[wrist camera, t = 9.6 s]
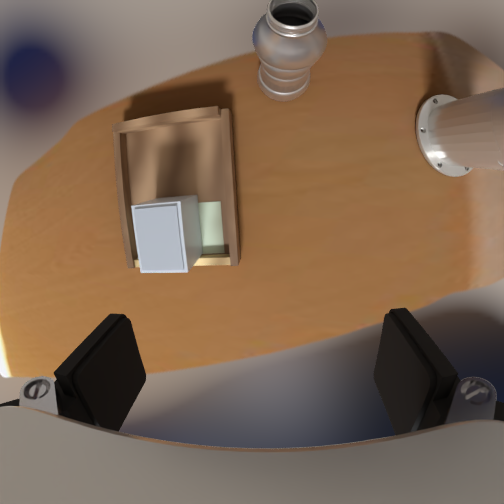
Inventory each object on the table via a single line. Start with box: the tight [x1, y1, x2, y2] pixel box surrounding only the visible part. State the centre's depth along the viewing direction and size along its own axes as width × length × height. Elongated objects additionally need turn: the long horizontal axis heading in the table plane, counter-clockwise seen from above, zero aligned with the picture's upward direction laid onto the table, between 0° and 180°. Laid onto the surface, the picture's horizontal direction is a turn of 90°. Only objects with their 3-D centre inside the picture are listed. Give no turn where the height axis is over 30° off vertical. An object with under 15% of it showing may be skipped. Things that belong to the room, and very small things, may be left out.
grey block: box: [131, 195, 203, 273], centre depth 35 cm, size 6×8×8 cm
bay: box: [112, 106, 241, 268], centre depth 36 cm, size 16×20×5 cm
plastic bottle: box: [252, 0, 327, 101], centre depth 24 cm, size 6×7×20 cm
